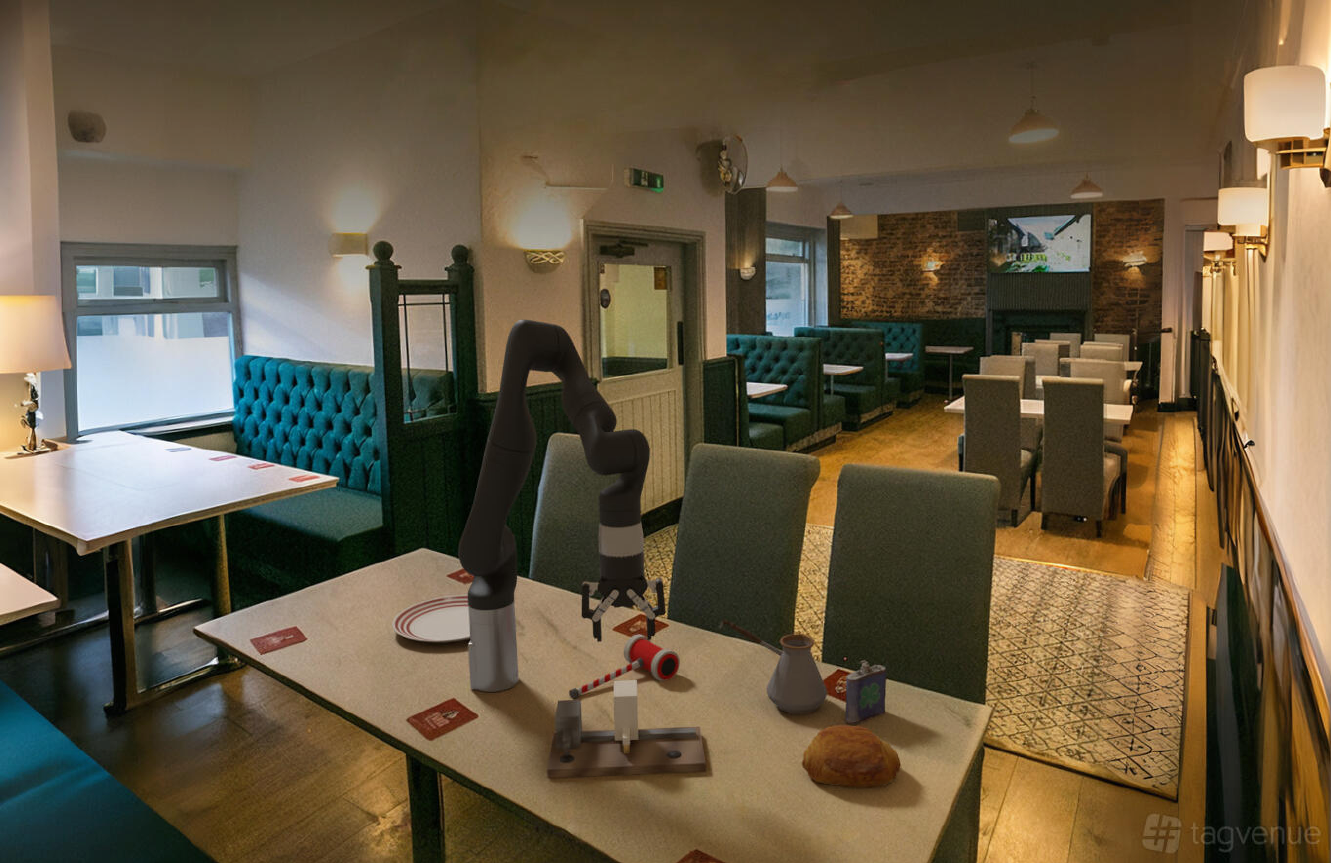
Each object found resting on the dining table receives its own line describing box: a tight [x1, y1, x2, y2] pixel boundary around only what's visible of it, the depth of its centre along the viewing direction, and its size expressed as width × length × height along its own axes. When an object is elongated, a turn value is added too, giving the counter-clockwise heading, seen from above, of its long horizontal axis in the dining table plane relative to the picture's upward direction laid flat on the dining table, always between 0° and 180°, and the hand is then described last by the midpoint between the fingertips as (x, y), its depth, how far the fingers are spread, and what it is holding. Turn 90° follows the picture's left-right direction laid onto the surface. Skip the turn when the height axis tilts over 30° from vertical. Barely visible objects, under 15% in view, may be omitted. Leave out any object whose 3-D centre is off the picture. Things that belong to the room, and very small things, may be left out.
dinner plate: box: [391, 594, 470, 643], centre depth 205 cm, size 28×27×3 cm
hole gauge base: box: [546, 699, 707, 779], centre depth 146 cm, size 26×12×8 cm, turn 92°
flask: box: [844, 659, 888, 726], centre depth 158 cm, size 9×3×11 cm, turn 121°
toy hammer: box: [568, 633, 681, 700], centre depth 175 cm, size 23×12×6 cm, turn 128°
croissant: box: [801, 724, 902, 788], centre depth 141 cm, size 14×16×8 cm
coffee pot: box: [718, 618, 828, 715], centre depth 165 cm, size 21×12×15 cm, turn 65°
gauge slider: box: [613, 679, 639, 753], centre depth 147 cm, size 4×10×8 cm, turn 2°
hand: (624, 639), depth 147 cm, fingers open, 8 cm apart
